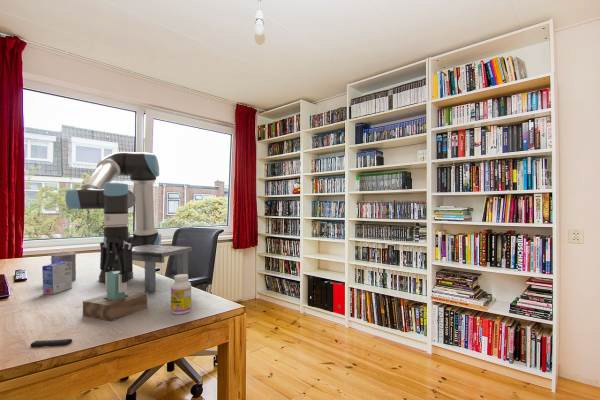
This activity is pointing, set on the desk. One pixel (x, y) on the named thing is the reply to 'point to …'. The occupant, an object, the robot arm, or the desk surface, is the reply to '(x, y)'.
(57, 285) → the ink cartridge box
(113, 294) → the peg
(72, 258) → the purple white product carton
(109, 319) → the socket block
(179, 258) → the grey step stool
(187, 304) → the supplement bottle
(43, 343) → the usb stick
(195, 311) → the desk surface
